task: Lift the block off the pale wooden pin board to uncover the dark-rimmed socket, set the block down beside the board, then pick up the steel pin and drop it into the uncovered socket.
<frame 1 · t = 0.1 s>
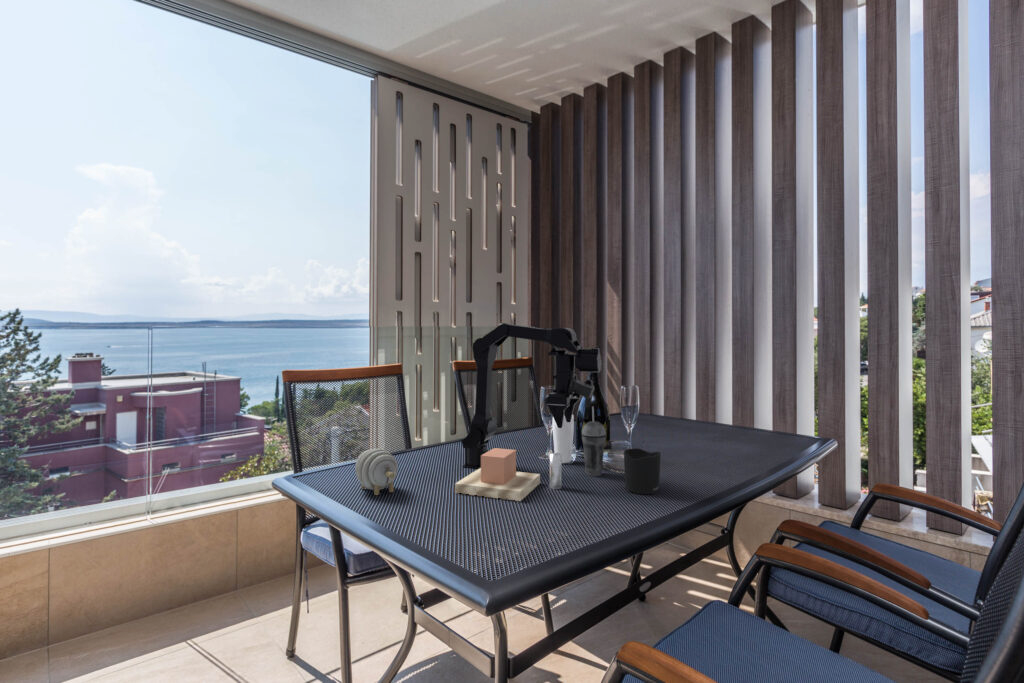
hand: (564, 425, 152), 15 cm above the table, tool pointing down, fingers open, 9 cm apart
steel pin: (555, 487, 141), on the table
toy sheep: (376, 492, 138), on the table
beverage cup: (593, 474, 153), on the table
pen holder: (641, 490, 139), on the table
pin board: (498, 487, 140), on the table
drinking glass: (563, 462, 167), on the table
block: (498, 478, 140), point 2 cm above the table, touching pin board
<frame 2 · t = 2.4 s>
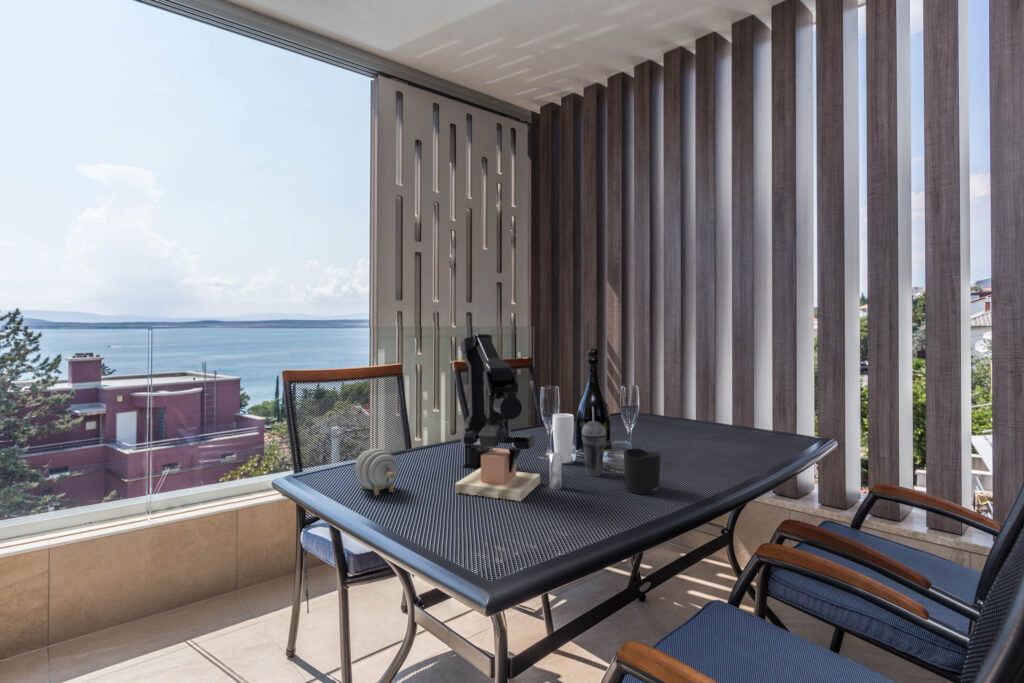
hand: (498, 471, 140), 5 cm above the table, tool pointing down, fingers closed on block, 6 cm apart
block: (498, 478, 140), point 2 cm above the table, touching gripper, pin board
everything else where it was.
when the fingers open (3 cm above the table, at t = 7.2 s): block drops 2 cm, on the table.
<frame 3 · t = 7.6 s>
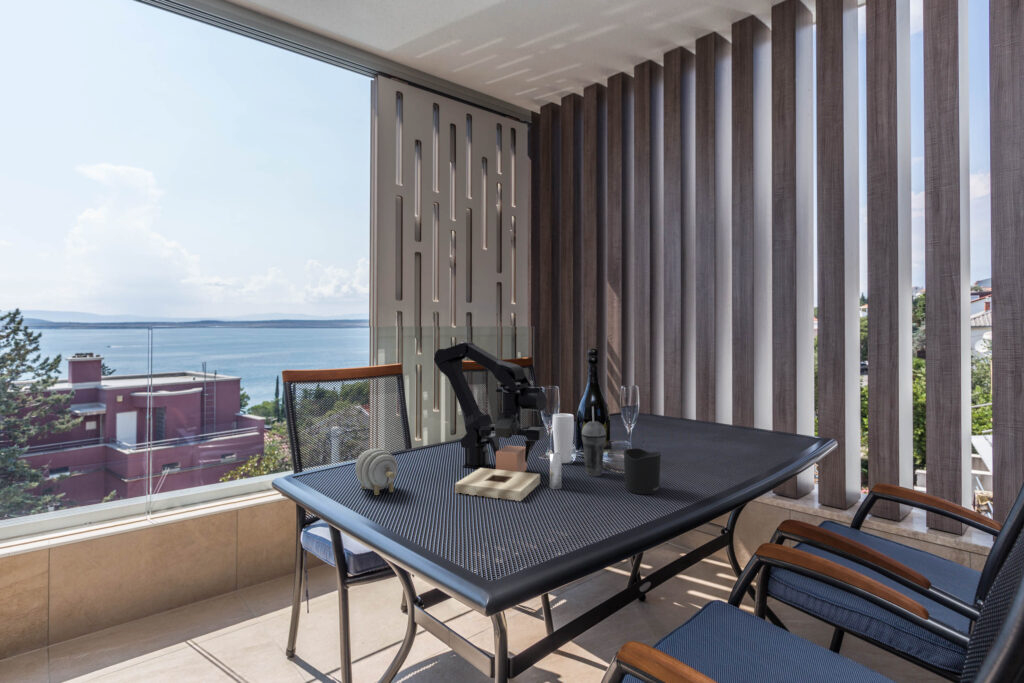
hand: (511, 460, 155), 3 cm above the table, tool pointing down, fingers open, 9 cm apart
block: (511, 472, 155), on the table
everything else where it was.
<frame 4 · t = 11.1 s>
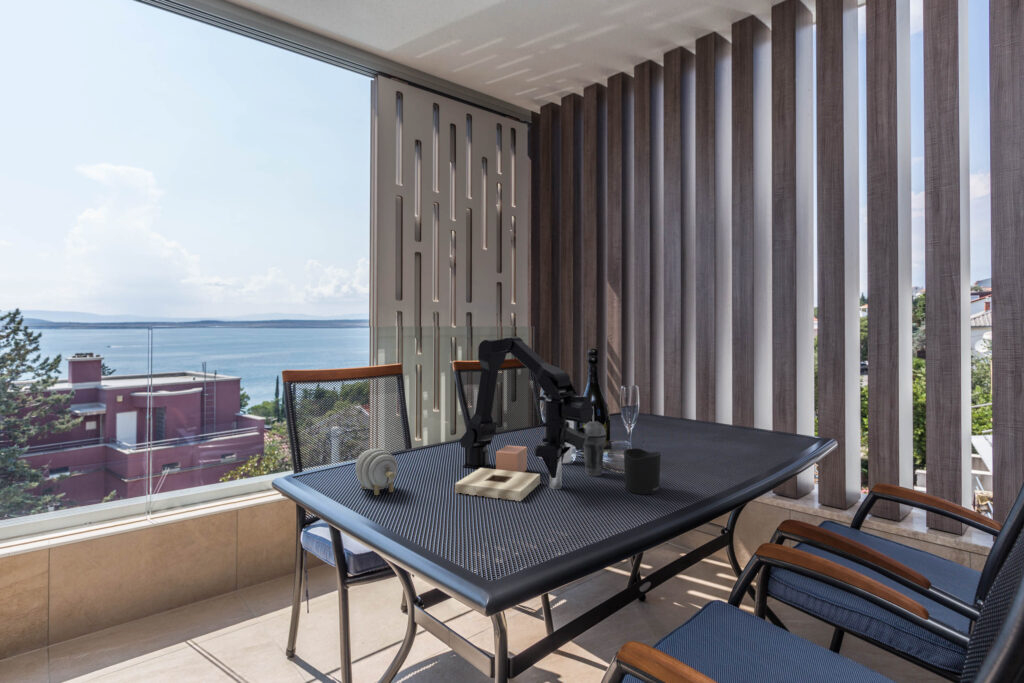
hand: (555, 476, 141), 3 cm above the table, tool pointing down, fingers closed on steel pin, 3 cm apart
steel pin: (555, 487, 141), on the table, touching gripper
everything else where it was.
when the fingers open (4 cm above the table, at t = 15.4 s): steel pin stays where it is, resting in pin board.
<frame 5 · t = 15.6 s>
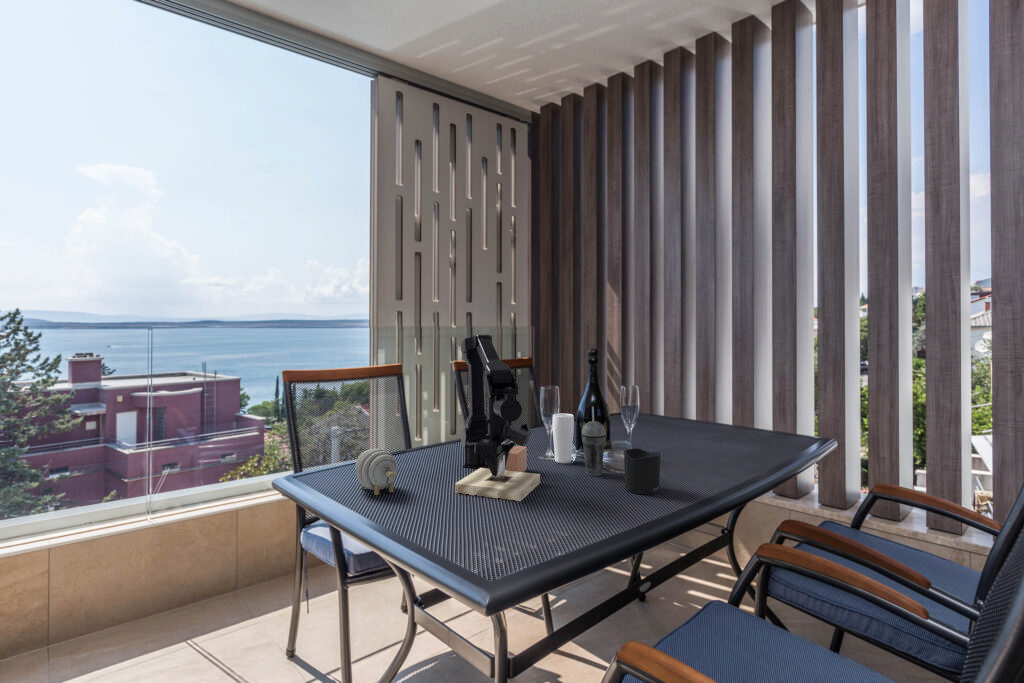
hand: (498, 473, 140), 4 cm above the table, tool pointing down, fingers open, 5 cm apart
steel pin: (498, 487, 140), resting in pin board
everything else where it was.
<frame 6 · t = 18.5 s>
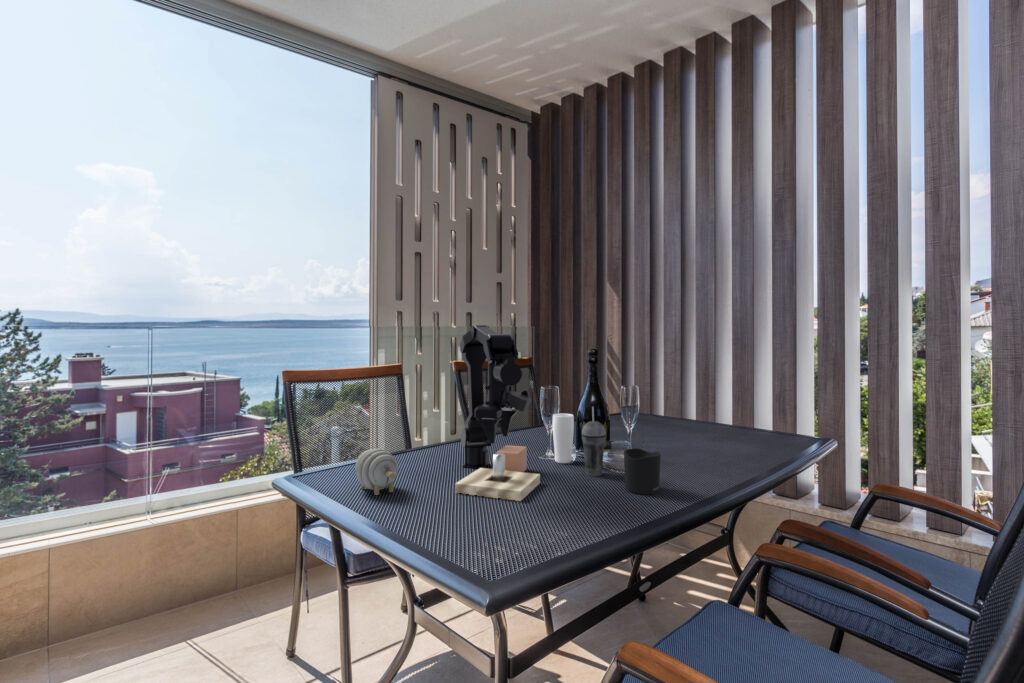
hand: (498, 439, 140), 13 cm above the table, tool pointing down, fingers open, 9 cm apart
nothing on the table moved.
at the end: steel pin 0.0 cm off-centre on the pin board, point 0.0 cm above the pin board's base; steel pin tilted 0°; block moved 15.4 cm from its start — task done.
